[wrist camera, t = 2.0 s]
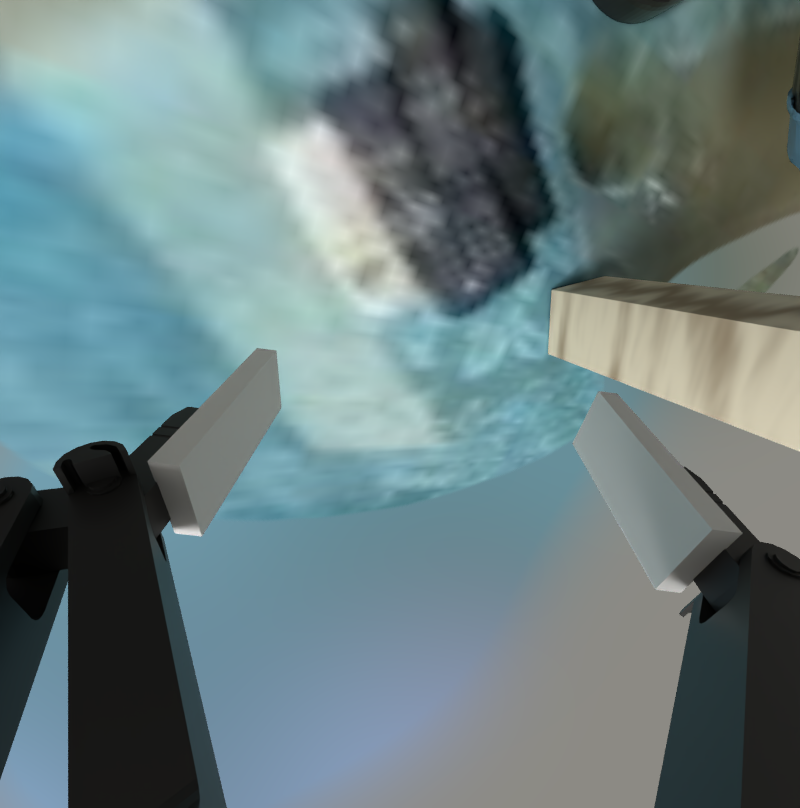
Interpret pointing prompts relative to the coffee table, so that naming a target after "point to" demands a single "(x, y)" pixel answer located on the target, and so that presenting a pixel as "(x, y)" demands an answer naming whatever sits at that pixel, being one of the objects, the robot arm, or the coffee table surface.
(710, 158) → the coffee table surface
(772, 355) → the pedestal
